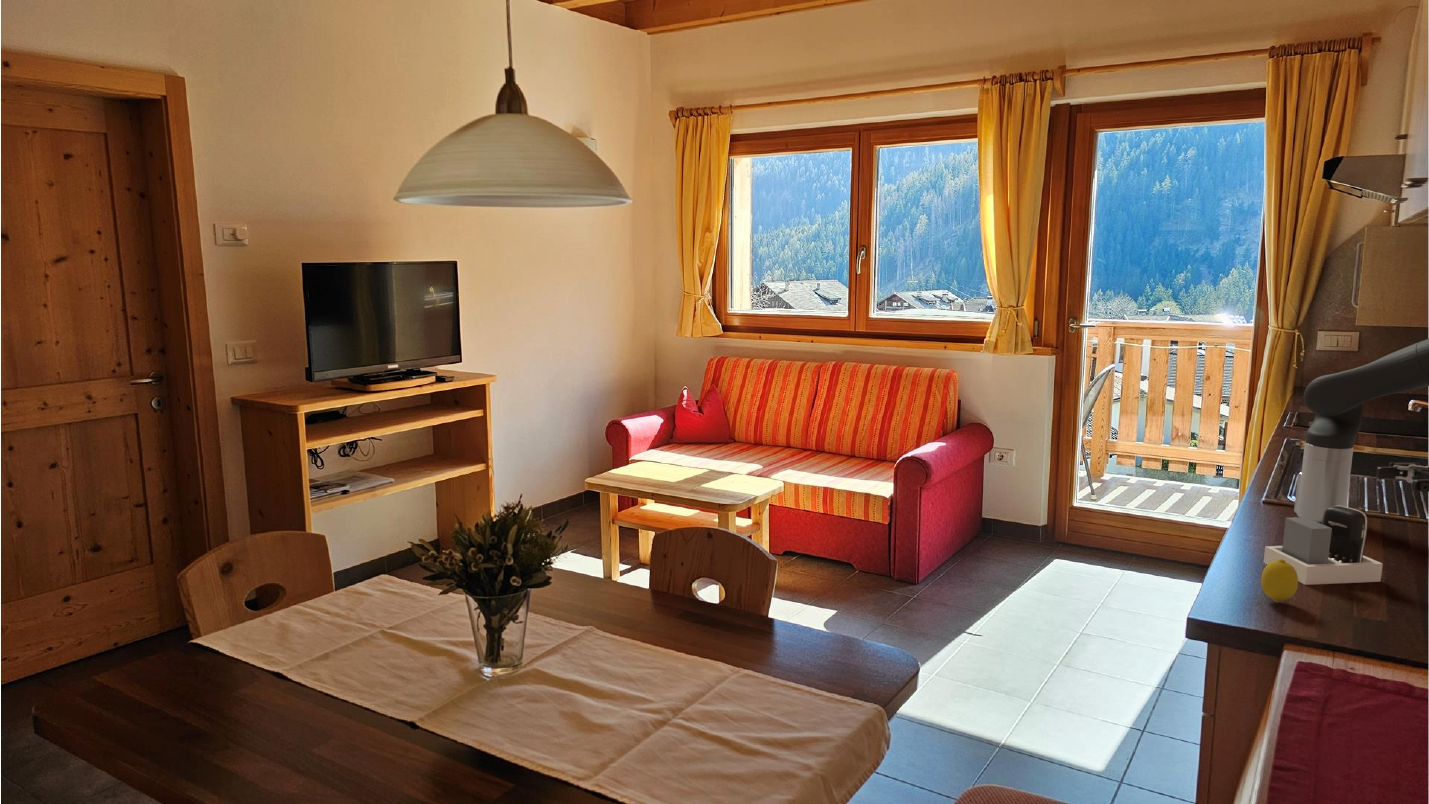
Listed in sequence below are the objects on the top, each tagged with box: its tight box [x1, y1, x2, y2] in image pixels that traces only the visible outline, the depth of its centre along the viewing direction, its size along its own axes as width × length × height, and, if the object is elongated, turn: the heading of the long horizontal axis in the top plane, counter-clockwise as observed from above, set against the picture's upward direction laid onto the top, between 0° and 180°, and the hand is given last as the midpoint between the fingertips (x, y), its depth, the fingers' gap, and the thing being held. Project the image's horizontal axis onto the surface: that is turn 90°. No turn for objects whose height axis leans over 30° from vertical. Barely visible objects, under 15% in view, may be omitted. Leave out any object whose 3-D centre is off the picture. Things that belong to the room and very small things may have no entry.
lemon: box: [1260, 559, 1299, 604], centre depth 166 cm, size 6×6×8 cm
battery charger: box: [1321, 505, 1369, 563], centre depth 180 cm, size 7×4×11 cm, turn 23°
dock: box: [1263, 516, 1384, 586], centre depth 180 cm, size 11×15×10 cm
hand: (1395, 479), depth 179 cm, fingers open, 8 cm apart
